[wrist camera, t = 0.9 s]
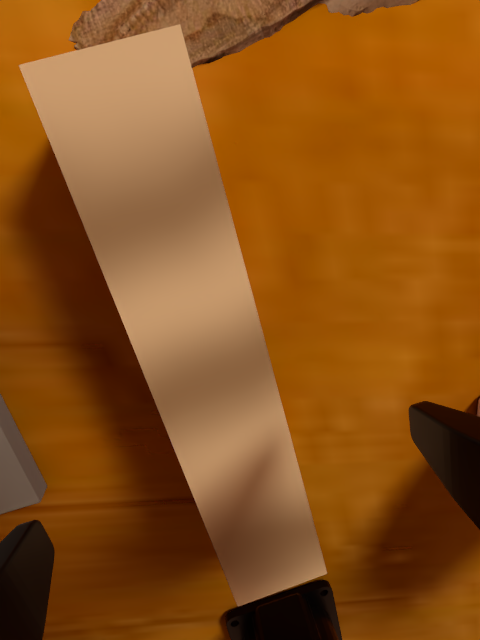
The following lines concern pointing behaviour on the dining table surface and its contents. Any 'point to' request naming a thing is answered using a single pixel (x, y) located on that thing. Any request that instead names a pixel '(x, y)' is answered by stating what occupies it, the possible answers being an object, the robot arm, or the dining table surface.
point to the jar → (479, 411)
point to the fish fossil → (204, 21)
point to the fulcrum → (16, 467)
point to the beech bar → (182, 292)
